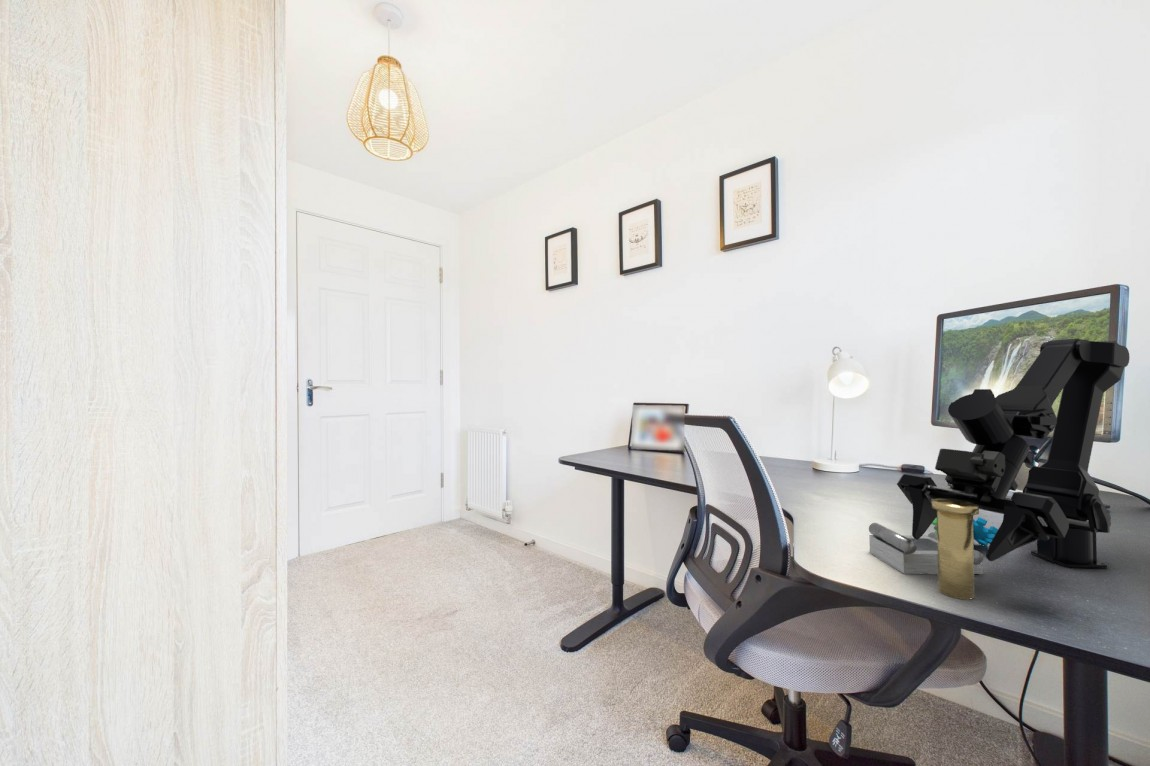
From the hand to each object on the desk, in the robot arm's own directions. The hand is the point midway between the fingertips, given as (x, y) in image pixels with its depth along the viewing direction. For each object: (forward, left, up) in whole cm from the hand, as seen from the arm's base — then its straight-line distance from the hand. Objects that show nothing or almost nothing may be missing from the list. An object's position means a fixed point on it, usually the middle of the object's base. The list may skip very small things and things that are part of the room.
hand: (949, 547), depth 64 cm
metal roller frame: (-4, -12, -7) cm, 14 cm away
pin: (-1, -1, -7) cm, 7 cm away
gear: (-18, -20, -7) cm, 28 cm away
